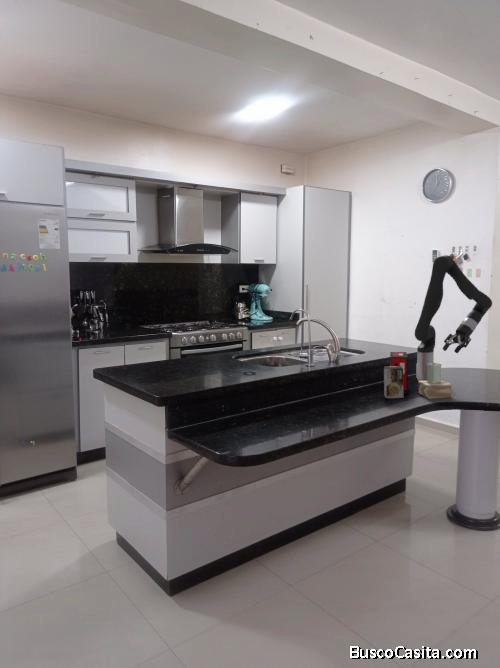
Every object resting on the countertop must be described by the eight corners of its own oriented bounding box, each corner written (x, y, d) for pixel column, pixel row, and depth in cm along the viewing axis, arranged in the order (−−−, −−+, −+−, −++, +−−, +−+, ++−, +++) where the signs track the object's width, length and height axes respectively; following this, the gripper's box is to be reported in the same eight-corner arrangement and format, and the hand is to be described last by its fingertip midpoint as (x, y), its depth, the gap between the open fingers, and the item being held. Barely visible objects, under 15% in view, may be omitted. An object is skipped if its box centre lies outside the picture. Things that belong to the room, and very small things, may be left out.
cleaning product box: (407, 393, 263) (407, 357, 260) (390, 393, 265) (390, 357, 262) (406, 386, 278) (406, 352, 276) (390, 386, 281) (390, 352, 278)
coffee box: (401, 395, 260) (401, 365, 258) (403, 398, 254) (403, 367, 252) (383, 395, 261) (383, 366, 259) (386, 398, 254) (385, 368, 252)
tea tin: (426, 382, 258) (426, 363, 256) (434, 381, 260) (434, 362, 258) (433, 384, 253) (433, 365, 252) (441, 382, 255) (441, 364, 254)
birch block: (417, 393, 262) (417, 380, 262) (440, 391, 264) (440, 379, 263) (428, 399, 250) (428, 386, 249) (451, 397, 251) (452, 384, 250)
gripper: (453, 322, 265) (436, 345, 263) (473, 324, 252) (455, 348, 250) (460, 331, 268) (443, 353, 265) (480, 333, 255) (463, 357, 252)
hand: (449, 351), depth 258 cm, fingers open, 8 cm apart
